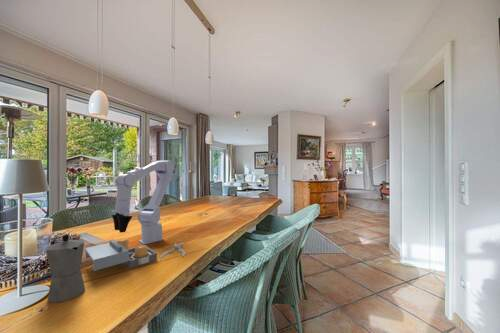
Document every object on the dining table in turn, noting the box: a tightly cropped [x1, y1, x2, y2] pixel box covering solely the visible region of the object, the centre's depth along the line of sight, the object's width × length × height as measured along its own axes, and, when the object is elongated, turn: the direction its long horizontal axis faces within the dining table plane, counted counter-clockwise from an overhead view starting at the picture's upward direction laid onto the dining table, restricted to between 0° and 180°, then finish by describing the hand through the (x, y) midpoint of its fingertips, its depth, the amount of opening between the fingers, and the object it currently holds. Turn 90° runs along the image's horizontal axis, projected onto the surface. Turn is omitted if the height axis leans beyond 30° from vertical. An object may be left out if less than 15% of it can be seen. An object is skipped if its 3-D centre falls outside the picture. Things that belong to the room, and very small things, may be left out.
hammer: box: [159, 242, 186, 259], centre depth 100 cm, size 10×2×15 cm
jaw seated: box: [135, 244, 148, 258], centre depth 89 cm, size 4×4×6 cm
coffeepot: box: [45, 234, 86, 304], centre depth 68 cm, size 15×9×18 cm, turn 62°
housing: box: [123, 246, 158, 270], centre depth 92 cm, size 10×15×3 cm, turn 45°
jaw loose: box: [116, 238, 130, 249], centre depth 100 cm, size 4×4×6 cm
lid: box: [84, 238, 129, 272], centre depth 84 cm, size 11×16×5 cm
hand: (119, 231), depth 99 cm, fingers open, 7 cm apart
